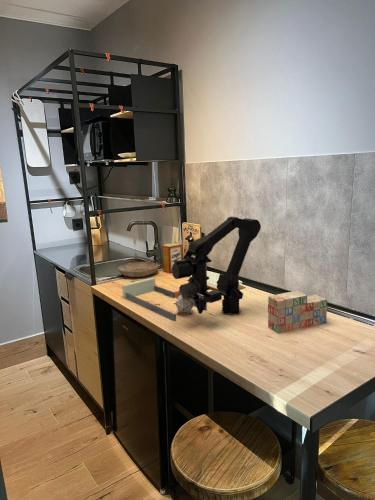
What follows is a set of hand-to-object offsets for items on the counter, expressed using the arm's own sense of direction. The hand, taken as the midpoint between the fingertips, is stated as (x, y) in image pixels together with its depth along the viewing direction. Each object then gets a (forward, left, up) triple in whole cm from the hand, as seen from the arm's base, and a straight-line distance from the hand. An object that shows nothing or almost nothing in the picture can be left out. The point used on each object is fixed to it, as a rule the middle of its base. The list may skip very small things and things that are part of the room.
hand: (200, 313), depth 144 cm
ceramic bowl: (+40, -67, -3) cm, 78 cm away
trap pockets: (+6, -24, -3) cm, 24 cm away
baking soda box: (+21, -72, -3) cm, 75 cm away
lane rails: (+17, -17, -3) cm, 25 cm away
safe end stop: (+31, -32, -3) cm, 45 cm away
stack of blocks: (-36, +5, -3) cm, 36 cm away
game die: (+7, -7, -3) cm, 10 cm away
